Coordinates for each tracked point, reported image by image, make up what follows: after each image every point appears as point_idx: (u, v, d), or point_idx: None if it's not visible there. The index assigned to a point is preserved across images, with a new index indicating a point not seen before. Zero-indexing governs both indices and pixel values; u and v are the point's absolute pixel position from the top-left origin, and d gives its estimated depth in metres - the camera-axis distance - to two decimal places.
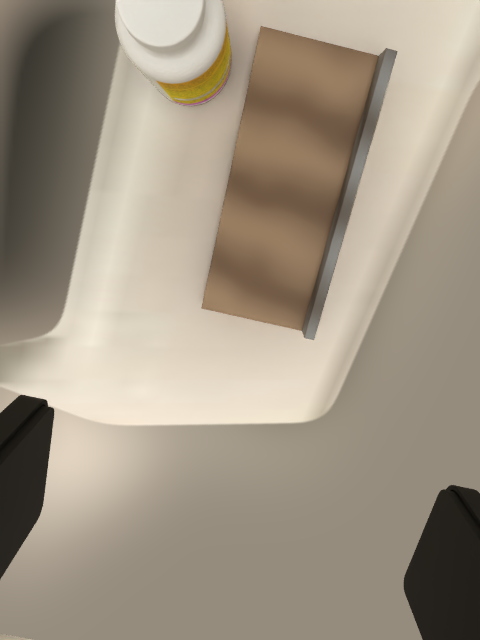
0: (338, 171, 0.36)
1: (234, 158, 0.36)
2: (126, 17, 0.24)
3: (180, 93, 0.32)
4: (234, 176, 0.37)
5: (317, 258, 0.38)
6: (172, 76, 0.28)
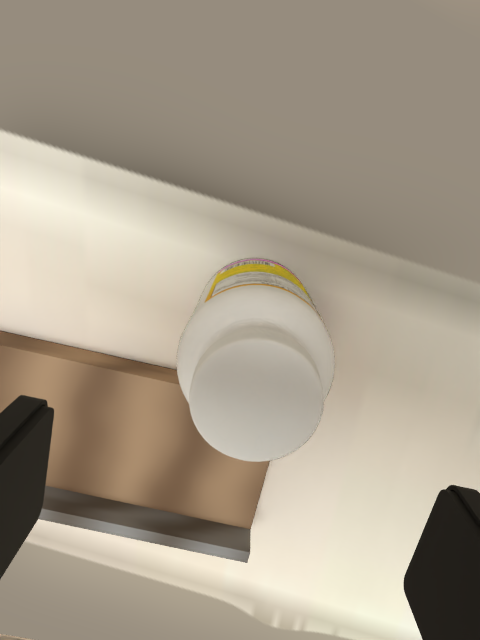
0: (124, 494, 0.30)
1: (130, 375, 0.27)
2: (227, 355, 0.15)
3: None
4: (108, 375, 0.27)
5: None
6: (179, 371, 0.19)
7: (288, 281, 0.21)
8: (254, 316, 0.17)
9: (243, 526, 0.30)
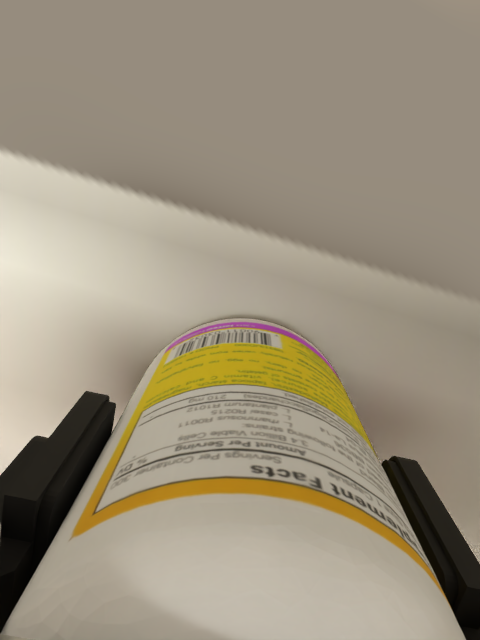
0: None
1: None
2: None
3: None
4: None
5: None
6: None
7: (321, 415, 0.08)
8: None
9: None
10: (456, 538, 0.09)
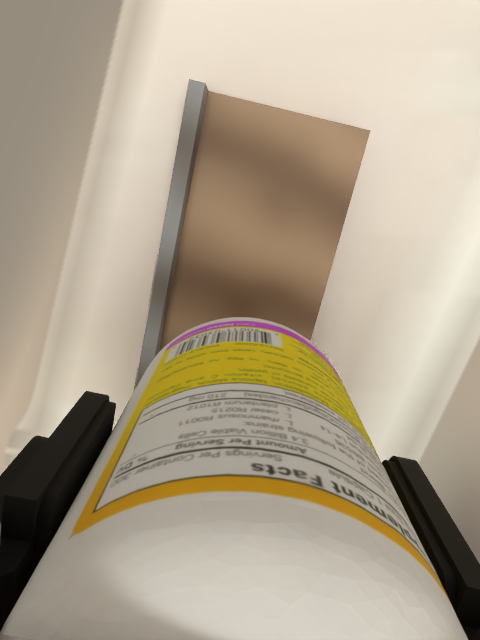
0: (174, 327, 0.28)
1: None
2: None
3: None
4: (308, 322, 0.28)
5: (192, 212, 0.26)
6: None
7: (321, 413, 0.08)
8: None
9: None
10: (456, 538, 0.09)
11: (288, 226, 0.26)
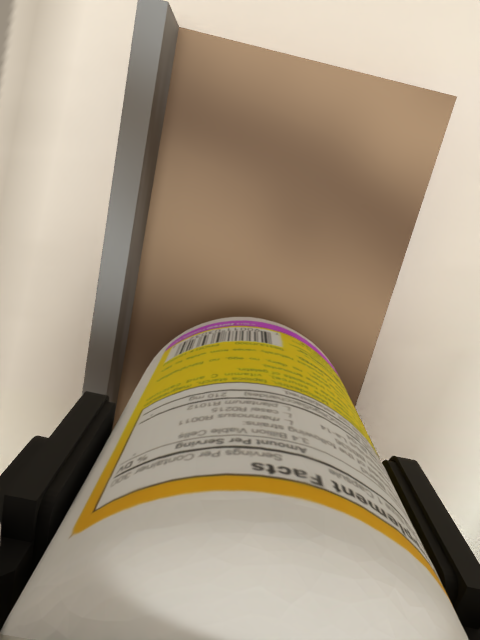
0: None
1: None
2: None
3: None
4: None
5: (155, 235, 0.16)
6: None
7: (321, 412, 0.08)
8: None
9: None
10: (456, 538, 0.09)
11: (314, 257, 0.16)
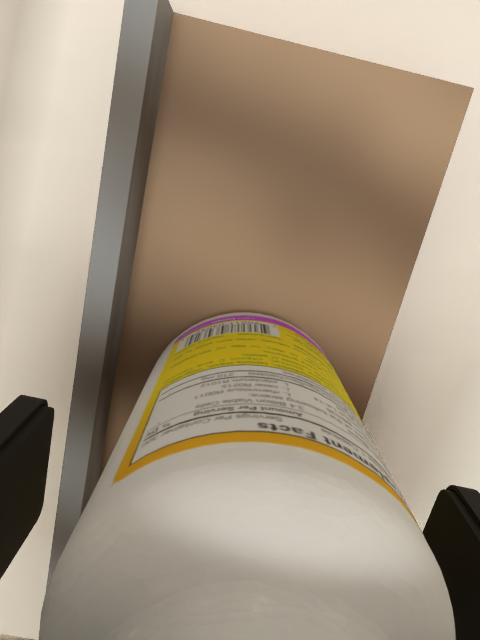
0: (123, 427, 0.17)
1: None
2: None
3: None
4: None
5: (149, 237, 0.15)
6: None
7: (314, 388, 0.10)
8: (240, 572, 0.06)
9: None
10: None
11: (319, 261, 0.15)
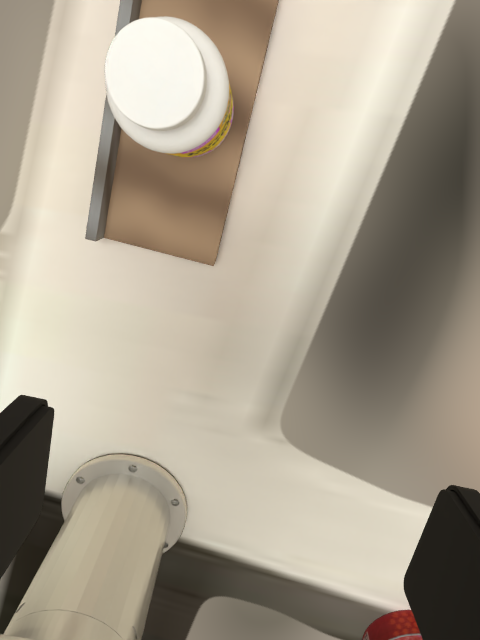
0: None
1: (241, 145, 0.34)
2: (131, 30, 0.21)
3: None
4: (241, 125, 0.34)
5: None
6: (106, 87, 0.24)
7: None
8: None
9: (106, 231, 0.36)
10: None
11: (224, 34, 0.32)
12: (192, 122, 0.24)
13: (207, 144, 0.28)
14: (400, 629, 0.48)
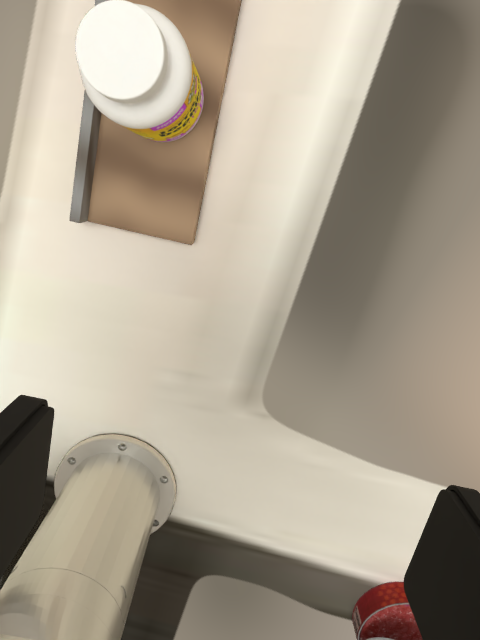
0: None
1: (212, 129, 0.37)
2: (97, 12, 0.23)
3: None
4: (212, 111, 0.36)
5: None
6: (80, 69, 0.27)
7: None
8: None
9: (89, 215, 0.39)
10: None
11: (192, 28, 0.35)
12: (158, 96, 0.27)
13: (176, 122, 0.30)
14: (388, 600, 0.50)
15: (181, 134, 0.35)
